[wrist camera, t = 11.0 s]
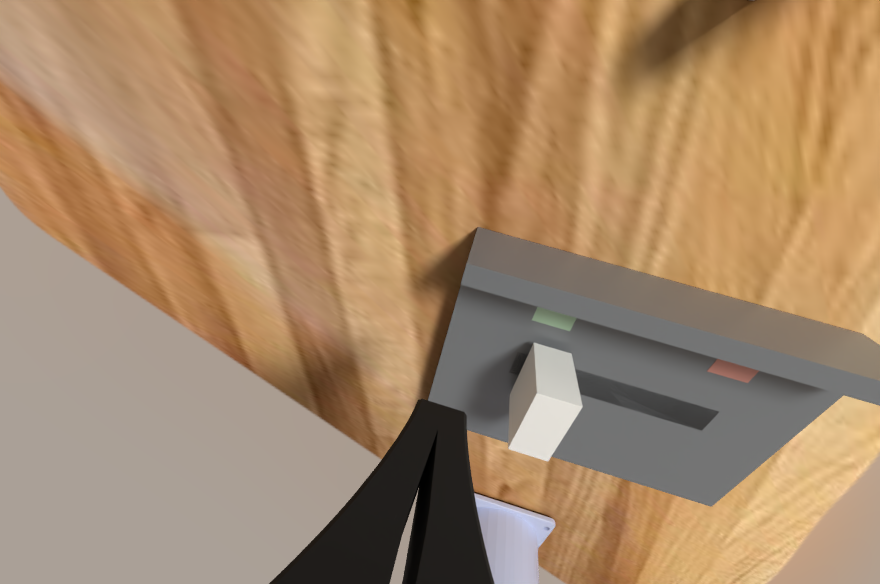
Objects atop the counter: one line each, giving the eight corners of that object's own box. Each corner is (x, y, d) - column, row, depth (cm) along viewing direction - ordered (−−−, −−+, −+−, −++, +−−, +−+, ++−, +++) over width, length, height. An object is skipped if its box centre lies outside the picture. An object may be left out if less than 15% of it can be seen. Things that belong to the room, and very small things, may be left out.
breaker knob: (543, 405, 20) (548, 461, 17) (509, 394, 20) (508, 448, 17) (571, 353, 18) (582, 406, 15) (533, 342, 18) (536, 393, 15)
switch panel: (700, 483, 23) (737, 560, 19) (428, 399, 24) (411, 456, 20) (863, 334, 17) (968, 406, 13) (477, 226, 18) (466, 263, 14)
